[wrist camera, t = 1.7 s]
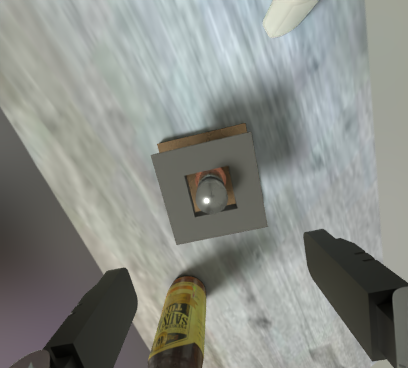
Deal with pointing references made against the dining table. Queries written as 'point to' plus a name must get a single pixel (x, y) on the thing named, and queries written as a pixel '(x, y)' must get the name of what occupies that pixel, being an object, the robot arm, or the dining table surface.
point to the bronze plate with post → (208, 172)
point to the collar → (202, 161)
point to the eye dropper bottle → (286, 15)
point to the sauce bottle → (181, 327)
